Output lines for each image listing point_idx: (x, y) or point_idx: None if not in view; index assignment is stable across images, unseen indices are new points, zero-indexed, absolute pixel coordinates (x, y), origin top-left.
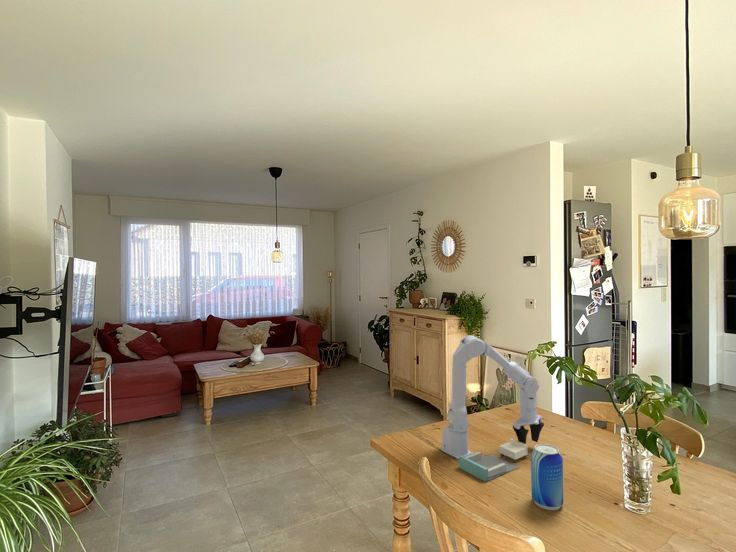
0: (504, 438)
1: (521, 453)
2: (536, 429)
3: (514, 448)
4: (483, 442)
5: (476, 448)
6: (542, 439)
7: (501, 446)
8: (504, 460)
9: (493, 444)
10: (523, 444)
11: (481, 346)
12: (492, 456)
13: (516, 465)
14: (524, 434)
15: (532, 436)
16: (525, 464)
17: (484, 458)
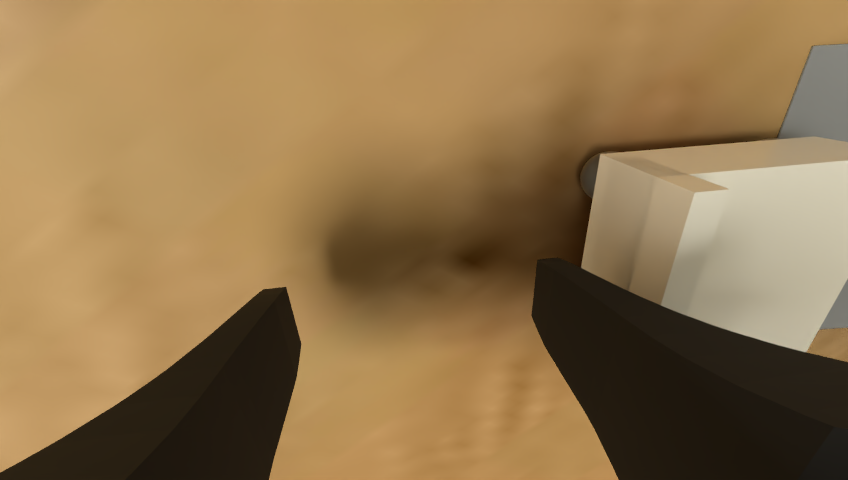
0: (383, 474)
1: (745, 155)
2: (206, 466)
3: (781, 247)
4: (562, 471)
5: None
6: (45, 371)
7: (803, 341)
8: None
9: (539, 436)
10: (712, 233)
11: None
12: None
13: (794, 98)
14: (820, 358)
15: (285, 380)
16: (716, 61)
17: (834, 308)
